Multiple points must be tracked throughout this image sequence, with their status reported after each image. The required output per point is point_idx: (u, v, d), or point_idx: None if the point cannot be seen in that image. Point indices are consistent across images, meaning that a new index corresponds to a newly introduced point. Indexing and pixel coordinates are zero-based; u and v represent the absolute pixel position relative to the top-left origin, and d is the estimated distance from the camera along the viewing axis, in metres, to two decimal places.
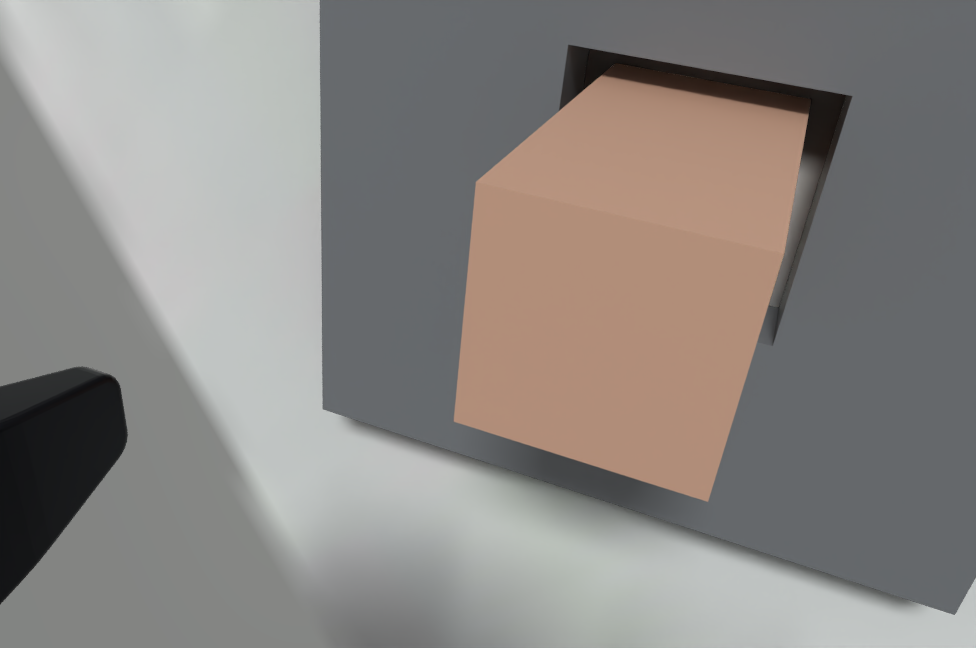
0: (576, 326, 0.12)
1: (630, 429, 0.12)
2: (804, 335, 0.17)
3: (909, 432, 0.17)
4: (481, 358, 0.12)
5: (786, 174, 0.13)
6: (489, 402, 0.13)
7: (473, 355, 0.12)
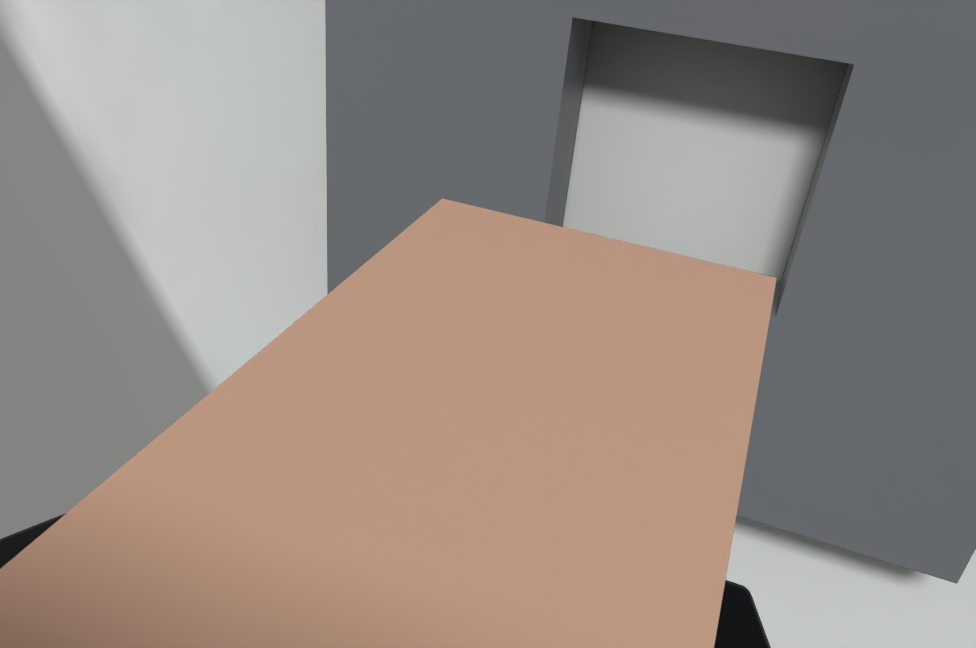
0: None
1: None
2: (807, 305, 0.17)
3: (911, 400, 0.17)
4: None
5: (693, 600, 0.05)
6: None
7: None
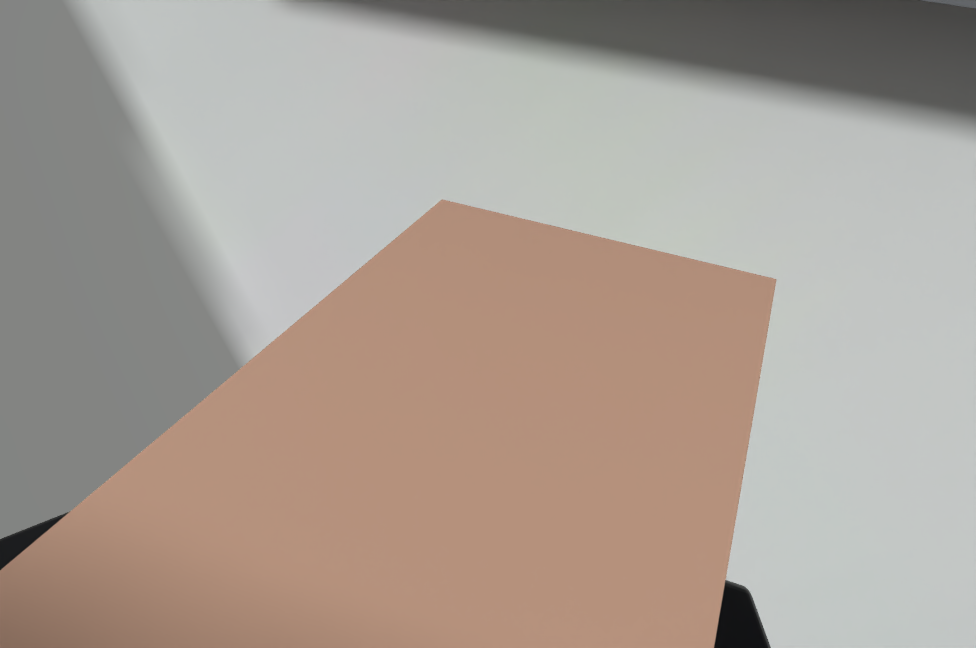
0: None
1: None
2: None
3: None
4: None
5: (693, 603, 0.05)
6: None
7: None
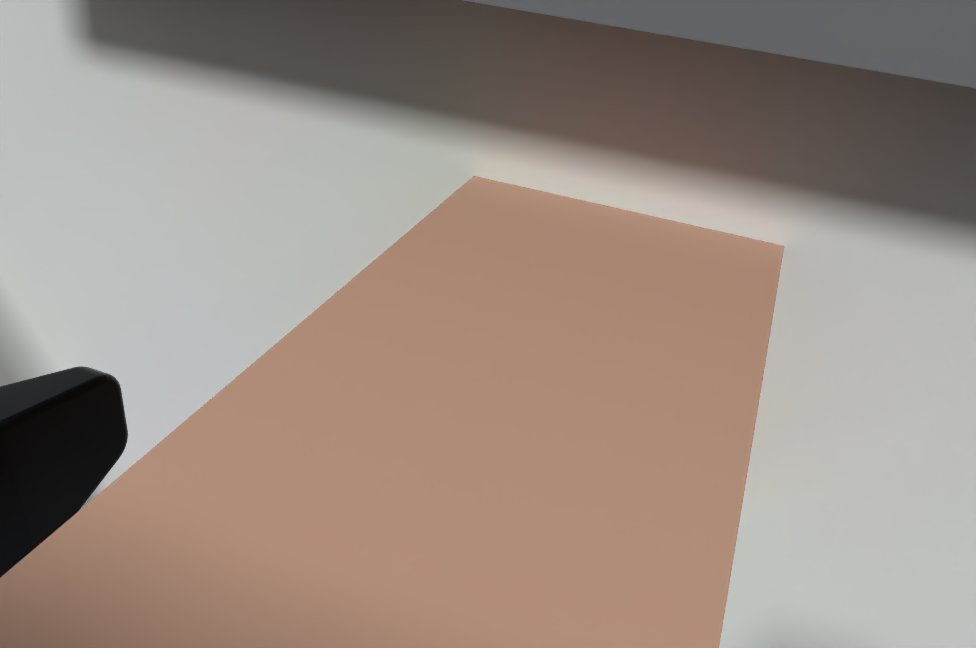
0: None
1: None
2: None
3: None
4: None
5: (717, 502, 0.06)
6: None
7: None
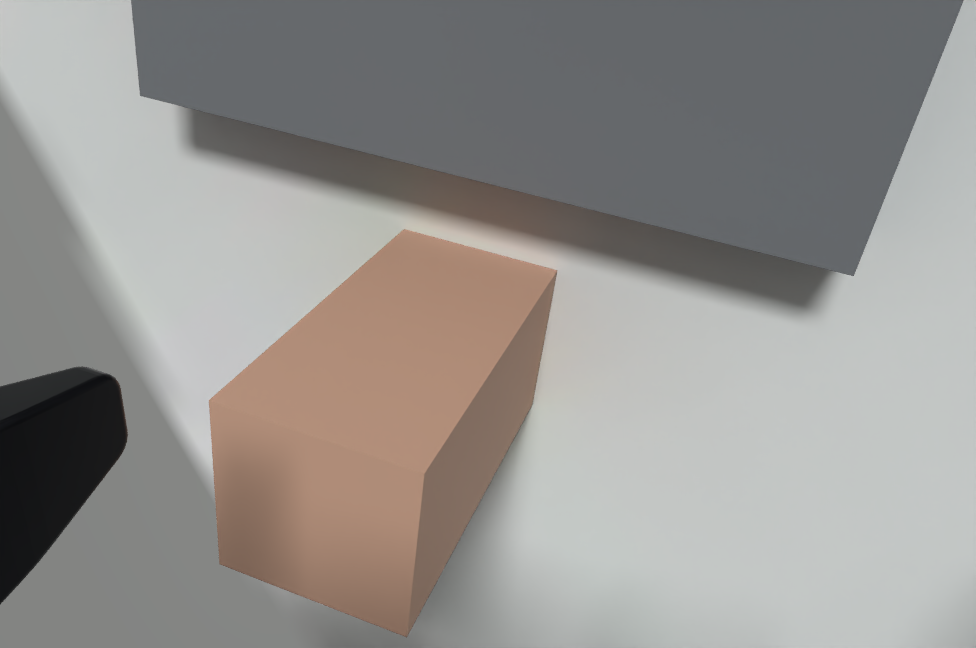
0: (294, 505, 0.15)
1: (344, 581, 0.15)
2: None
3: (796, 17, 0.14)
4: (232, 521, 0.16)
5: (479, 374, 0.16)
6: (242, 553, 0.16)
7: (226, 518, 0.16)
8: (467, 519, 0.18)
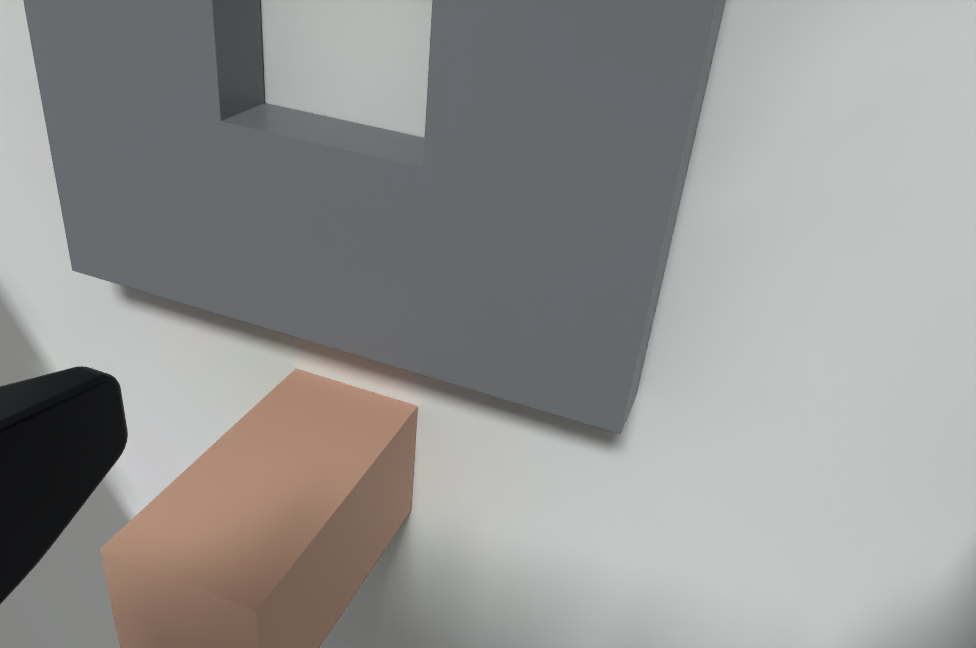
0: (171, 627, 0.19)
1: None
2: (446, 153, 0.18)
3: (548, 246, 0.18)
4: (128, 635, 0.20)
5: (323, 515, 0.20)
6: None
7: (123, 633, 0.20)
8: (332, 622, 0.22)
